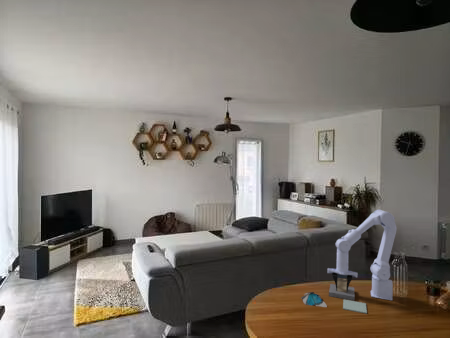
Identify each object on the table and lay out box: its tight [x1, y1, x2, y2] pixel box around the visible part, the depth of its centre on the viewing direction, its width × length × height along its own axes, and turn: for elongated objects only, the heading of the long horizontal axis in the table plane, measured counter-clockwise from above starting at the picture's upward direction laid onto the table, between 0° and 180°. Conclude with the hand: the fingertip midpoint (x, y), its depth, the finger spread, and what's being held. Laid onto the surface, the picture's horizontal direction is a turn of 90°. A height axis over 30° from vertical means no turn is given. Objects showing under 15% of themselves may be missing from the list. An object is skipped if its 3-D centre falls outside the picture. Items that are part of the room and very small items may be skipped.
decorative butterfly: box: [300, 291, 328, 308], centre depth 143 cm, size 10×6×10 cm
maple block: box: [337, 277, 347, 293], centre depth 153 cm, size 4×4×7 cm
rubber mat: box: [342, 299, 368, 315], centre depth 139 cm, size 10×10×1 cm
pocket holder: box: [328, 283, 355, 301], centre depth 153 cm, size 12×12×2 cm
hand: (341, 288), depth 153 cm, fingers closed on maple block, 4 cm apart
